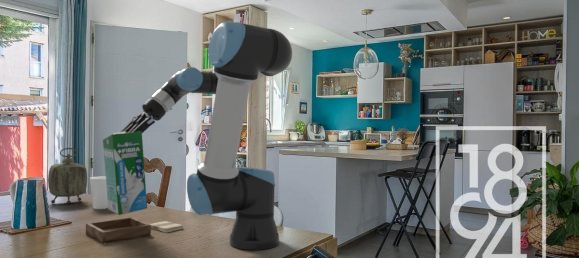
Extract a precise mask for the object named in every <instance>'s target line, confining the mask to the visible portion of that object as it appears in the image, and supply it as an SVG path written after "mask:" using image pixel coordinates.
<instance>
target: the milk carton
mask: <svg viewBox="0 0 579 258" xmlns="http://www.w3.org/2000/svg"><path fill="white" fill-rule="evenodd" d="M102 146H103V147H102V148H103V151H104V153H103V157H104V158H103V160H104V171H105V176H106V186H107V198H108V208H107V209H108V211H110V212H113V213H115V214H116V215H118V216H121V215H125V214H130V213H133V212H138V211H142V210H146V209H148V201H147V200H148V199H147V188H146V187H147V186H146V172H145V160H144V159H145V158H144V146H143V133H142V131H139V132H129V133H126V132H125V131H124V132H120V131H117V132H114V133H112V134H111V135H109V136H107V137H106V138H103V139H102Z"/></svg>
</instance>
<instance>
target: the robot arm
mask: <svg viewBox="0 0 579 258" xmlns="http://www.w3.org/2000/svg"><path fill="white" fill-rule="evenodd" d="M207 54H208V56H207V58H208V62H209V64H210V65H211V66H213V72H208V71H201V70H199V69H198V68H196V67H194V66H188V67H186V68H183V69H182V70H178V71H177V72H176V73H174V74H172V76H171V77H170V78H169V79H168V80H167V81H166V82H165V83H164V84H163V85H162V86H161V87H160V88H159V89H158V90H156V92H154V94H152V95H151V96H150V98H148V99H147V100H146V101H145V102H144V103H142V104H141V105H142V106H141V107H142V108H141V109H142V111H143V112H141V113H139V114H137V115H136V116H133V117H132V118H131V120H130V121H129V122H128V123H127V124H126V125H125V126H124V127H123V128H122V129H121V130H120V131H119V132H124V131H125V132H126V133H129V132H139V131H142V134H143V133H145V132H146V131H147V130H148V129H149V128H150V127H151V126H152V125H154V124H155V123H156V121H160V120H161V119H162V118H163V117H164V116H165V115H166V113H168V112H169V111H172V110H173V107H174V106H175V105H176V104H177V103H178V102H179V101H180V100H181V99H183V97H184V96H186V95H188V94H191V93H192V94H202V95H203V94H204V95H205V94H206V95H214V100H213V101H214V103H213V109H212V115H211V120H210V126H209V130H208V131H209V132H208V137H207V143H206V149H205V155H204V160H202V161H201V162H200V163H199V164H197V169H196V170H197V171H196V173H191V174H190V175H189V176H188V178H187V180H186V192H187V193H186V194H187V198H188V202H189V205H190V207H191V209H192V211H193V212H194V213H195V214H196V215H199V216H202V215H203V216H204V215H205V216H206V215H208V216H213V215H217V214H225V213H233V212H235V220H234V223H233V225H232V226H233V227H232V230H231V233H230V235H229V244H230V247H231V246H232V247H233V248H236V249H240V250H246V251H247V250H248V251H249V250H250V251H252V250H253V251H259V250H267V249H272V248H275V247H277V246H278V245H279V244H280V235H279V231H278V228H277V225H276V221H275V186H276V183H275V182H276V181H275V173H274V172H273V171H272V170H269V169H263V168H257V167H256V168H255V167H249V166H248V167H247V166H238V167H237V166H236V159H237V155H238V151H239V146H240V141H241V135H242V130H243V124H244V121H245V120H244V119H245V113H246V108H247V104H248V98H249V93H250V88H251V85H252V84H253V83H255V82H256V81H257V80H259V79H260V78H263V77H265V76H266V77H274V76H276V75H278V74H280V73H282V72H284V71H286V69H287V68H288V67H289V66H290V64H291V61H292V58H293V47H292V44H291V43H290V41H289V39H288V38H287V36H286V35H284V33H282V32H281V31H279V30H276V29H273V28H269V27H268V28H266V27H262V26H257V25H252V24H247V23H243V22H238V21H236V22H235V21H223V22H222V23H220V24H219V25H217V27H216V28H215V29H214V30H213V33H212V35H211V37H210V39H209V44H208V49H207ZM102 154H104V150H103V151H102Z"/></svg>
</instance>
